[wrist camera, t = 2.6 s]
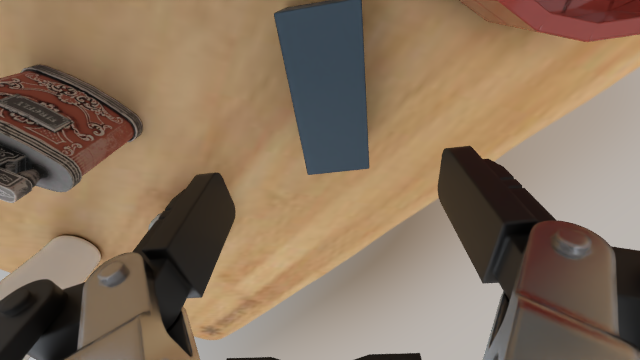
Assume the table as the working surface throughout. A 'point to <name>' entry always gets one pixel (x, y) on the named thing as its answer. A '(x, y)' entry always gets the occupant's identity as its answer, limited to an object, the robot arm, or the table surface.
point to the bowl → (564, 16)
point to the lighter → (56, 130)
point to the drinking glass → (55, 265)
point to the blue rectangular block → (327, 82)
